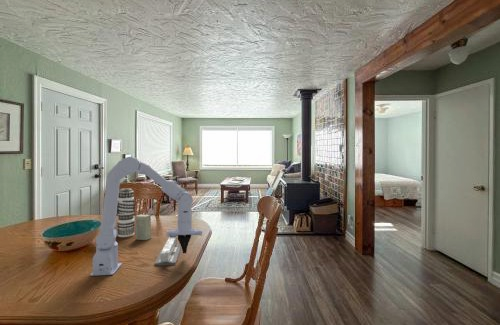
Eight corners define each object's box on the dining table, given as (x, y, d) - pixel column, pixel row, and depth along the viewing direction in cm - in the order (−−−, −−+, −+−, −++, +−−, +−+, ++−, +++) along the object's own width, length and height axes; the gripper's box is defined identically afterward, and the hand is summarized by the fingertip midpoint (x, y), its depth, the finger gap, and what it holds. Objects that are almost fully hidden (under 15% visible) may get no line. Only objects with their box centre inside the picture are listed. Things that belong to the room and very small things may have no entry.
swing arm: (168, 261, 104) (168, 253, 104) (160, 262, 103) (160, 253, 103) (175, 244, 124) (175, 237, 123) (169, 244, 123) (169, 237, 123)
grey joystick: (177, 248, 123) (177, 235, 123) (166, 248, 123) (166, 236, 122) (179, 244, 128) (179, 232, 128) (168, 245, 128) (168, 232, 127)
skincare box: (151, 238, 138) (151, 214, 138) (146, 240, 134) (146, 216, 134) (141, 236, 140) (140, 213, 140) (135, 239, 136) (135, 215, 135)
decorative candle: (138, 232, 148) (138, 187, 147) (129, 237, 138) (129, 190, 138) (123, 231, 149) (122, 187, 148) (113, 237, 139) (112, 189, 138)
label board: (175, 264, 105) (175, 261, 105) (154, 265, 104) (154, 262, 104) (180, 248, 123) (180, 245, 123) (163, 249, 122) (163, 246, 122)
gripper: (202, 217, 116) (202, 248, 116) (168, 218, 114) (168, 249, 114) (201, 221, 109) (201, 254, 109) (165, 222, 107) (165, 256, 107)
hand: (184, 252), depth 111 cm, fingers closed
